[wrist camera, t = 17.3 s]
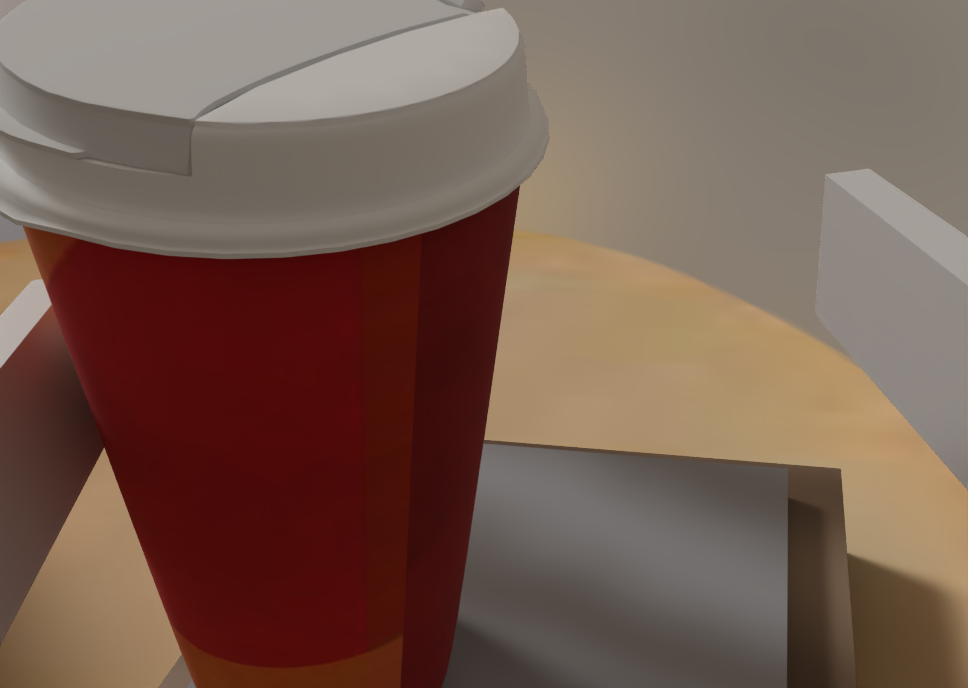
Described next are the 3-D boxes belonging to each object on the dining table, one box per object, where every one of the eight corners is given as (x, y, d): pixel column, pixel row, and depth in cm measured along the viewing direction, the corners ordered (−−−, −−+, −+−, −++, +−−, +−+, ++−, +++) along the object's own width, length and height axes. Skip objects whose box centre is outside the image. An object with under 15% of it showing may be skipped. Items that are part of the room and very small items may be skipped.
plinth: (871, 1230, 14) (900, 1120, 12) (62, 973, 19) (-9, 864, 17) (833, 546, 27) (843, 440, 25) (359, 496, 32) (338, 404, 30)
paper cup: (376, 480, 24) (357, -72, 16) (567, 682, 20) (683, 53, 11) (87, 625, 20) (-141, -14, 12) (242, 924, 16) (46, 218, 7)
